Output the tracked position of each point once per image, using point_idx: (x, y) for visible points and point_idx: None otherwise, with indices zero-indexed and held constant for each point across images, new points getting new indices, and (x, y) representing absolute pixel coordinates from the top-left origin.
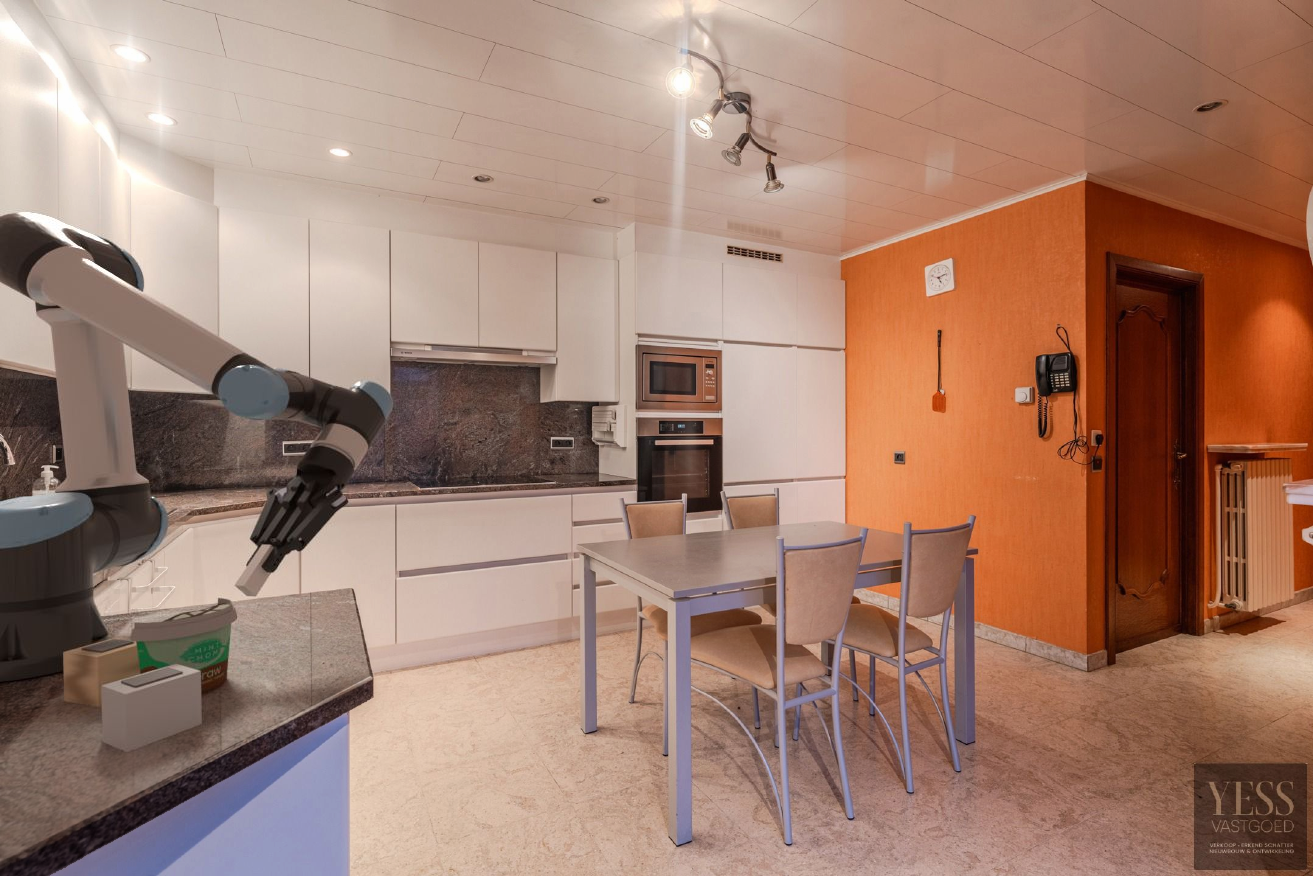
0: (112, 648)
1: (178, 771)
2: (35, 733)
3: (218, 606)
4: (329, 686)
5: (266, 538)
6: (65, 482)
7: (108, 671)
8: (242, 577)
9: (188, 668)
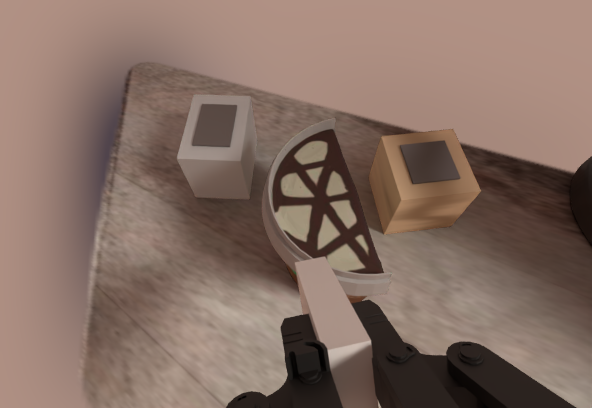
0: (404, 157)
1: (121, 138)
2: (344, 125)
3: (360, 262)
4: (118, 348)
5: (390, 369)
6: None
7: (379, 163)
8: (320, 268)
9: (203, 157)
